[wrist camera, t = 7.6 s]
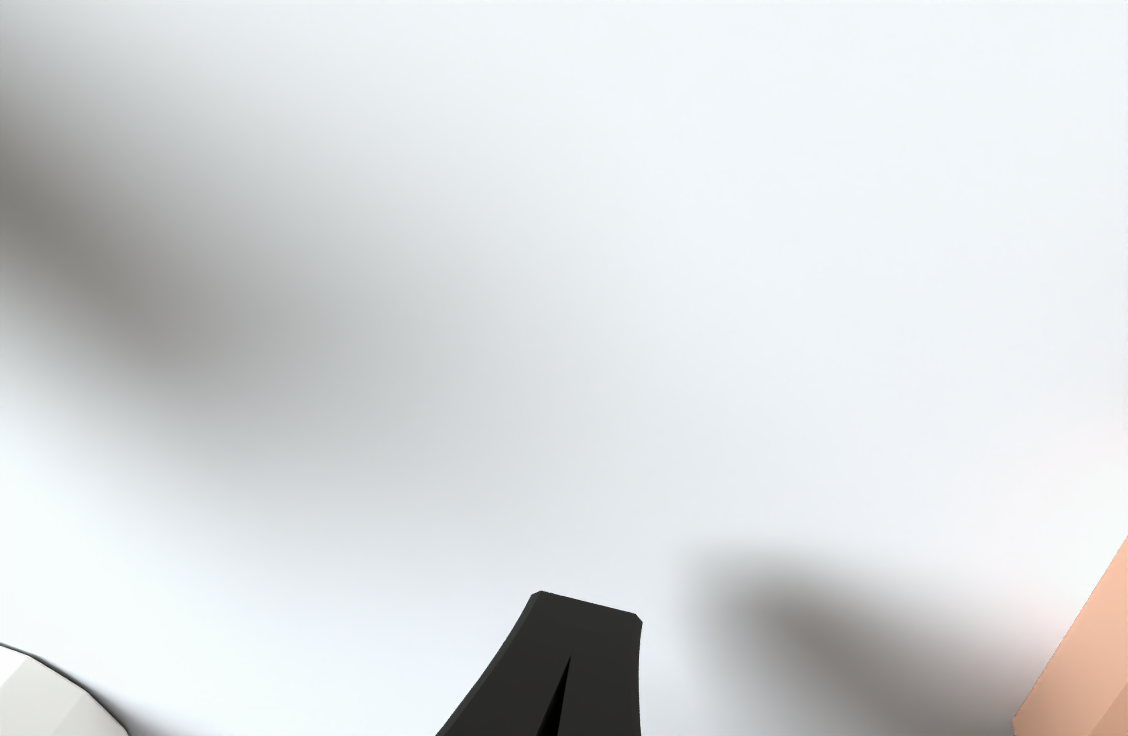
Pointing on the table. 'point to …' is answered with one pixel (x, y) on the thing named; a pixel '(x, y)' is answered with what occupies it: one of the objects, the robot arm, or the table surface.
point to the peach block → (1086, 668)
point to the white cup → (47, 702)
